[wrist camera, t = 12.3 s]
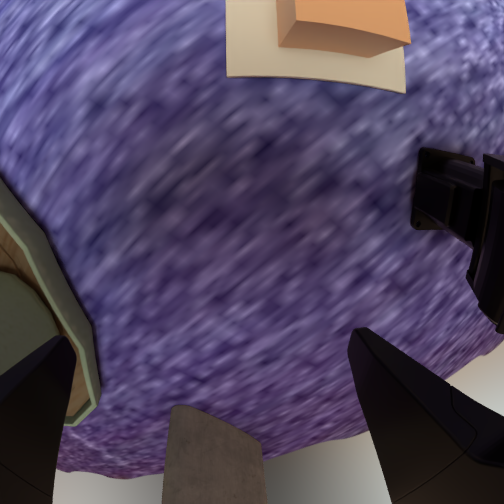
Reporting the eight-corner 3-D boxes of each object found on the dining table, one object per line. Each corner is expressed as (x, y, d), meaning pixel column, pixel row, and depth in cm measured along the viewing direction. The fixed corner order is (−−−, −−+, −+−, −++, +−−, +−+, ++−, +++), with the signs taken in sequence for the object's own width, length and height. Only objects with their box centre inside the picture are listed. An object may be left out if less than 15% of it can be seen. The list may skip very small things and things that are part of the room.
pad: (389, -17, 11) (392, -20, 10) (401, 93, 15) (405, 93, 15) (226, -41, 10) (226, -45, 10) (226, 77, 14) (226, 76, 14)
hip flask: (166, 409, 28) (152, 563, 10) (189, 399, 27) (182, 570, 9) (247, 450, 34) (257, 565, 16) (270, 442, 33) (286, 563, 15)
